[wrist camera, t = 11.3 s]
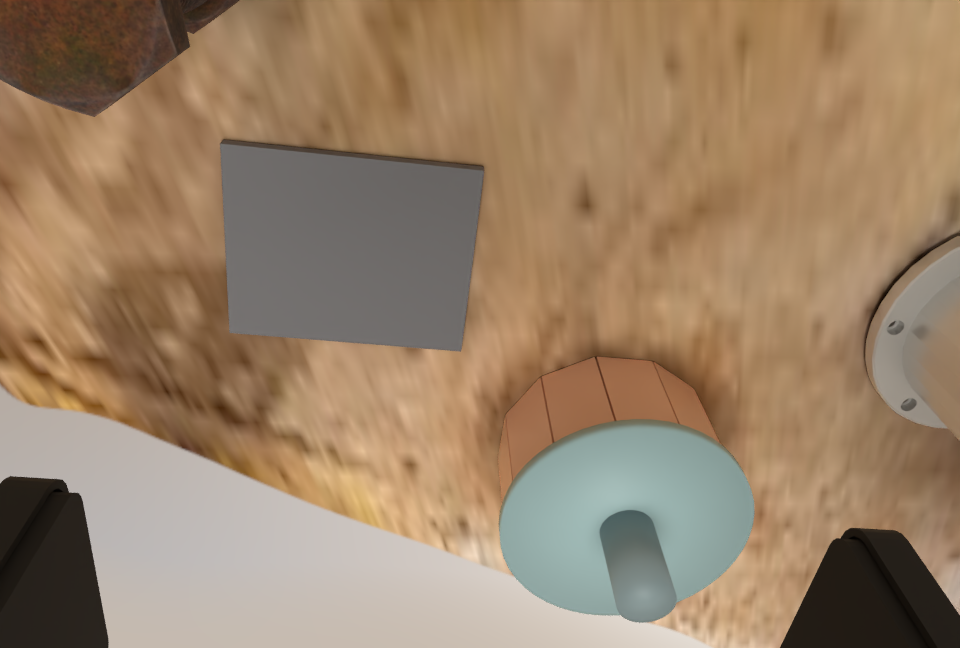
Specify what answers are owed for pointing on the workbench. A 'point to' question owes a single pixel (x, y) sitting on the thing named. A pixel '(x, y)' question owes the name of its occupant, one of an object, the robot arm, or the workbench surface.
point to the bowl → (593, 406)
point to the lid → (626, 518)
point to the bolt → (94, 45)
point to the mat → (348, 245)
